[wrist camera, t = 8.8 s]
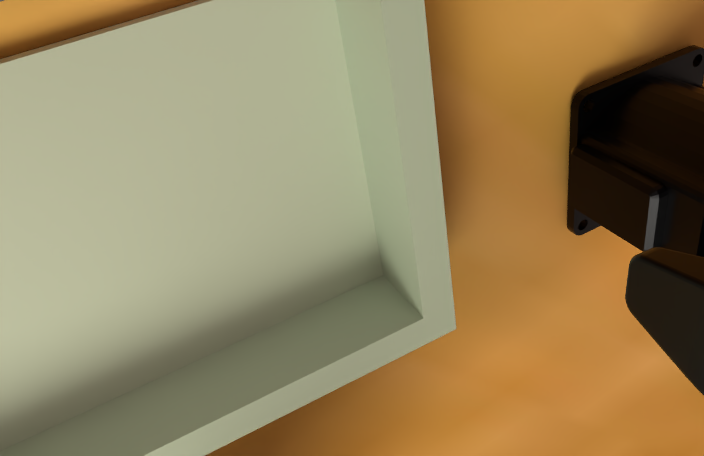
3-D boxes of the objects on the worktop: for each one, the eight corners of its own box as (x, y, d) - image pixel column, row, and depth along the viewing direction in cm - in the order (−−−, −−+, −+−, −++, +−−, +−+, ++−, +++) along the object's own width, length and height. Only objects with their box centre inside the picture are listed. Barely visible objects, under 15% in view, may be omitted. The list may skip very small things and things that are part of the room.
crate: (361, -49, 19) (421, -30, 16) (409, 280, 26) (456, 328, 23) (-439, 189, 13) (-531, 271, 11) (-103, 520, 20) (-113, 615, 18)
